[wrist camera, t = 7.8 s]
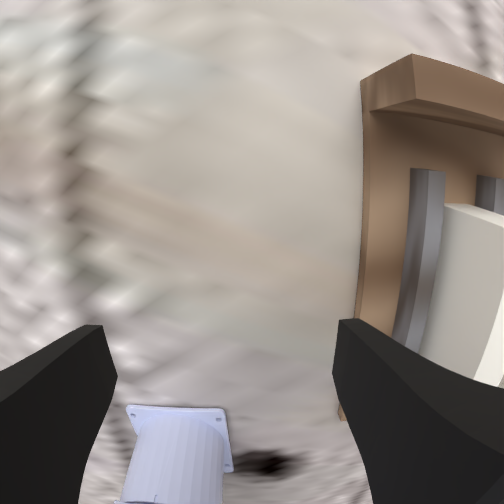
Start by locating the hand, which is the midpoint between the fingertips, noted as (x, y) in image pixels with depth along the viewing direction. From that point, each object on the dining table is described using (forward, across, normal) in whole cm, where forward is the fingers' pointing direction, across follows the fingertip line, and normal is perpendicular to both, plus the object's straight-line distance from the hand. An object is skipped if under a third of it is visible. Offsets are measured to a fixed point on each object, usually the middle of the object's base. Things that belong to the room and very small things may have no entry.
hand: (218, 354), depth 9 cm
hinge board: (+9, -14, +2) cm, 17 cm away
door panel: (+8, -14, +2) cm, 16 cm away
